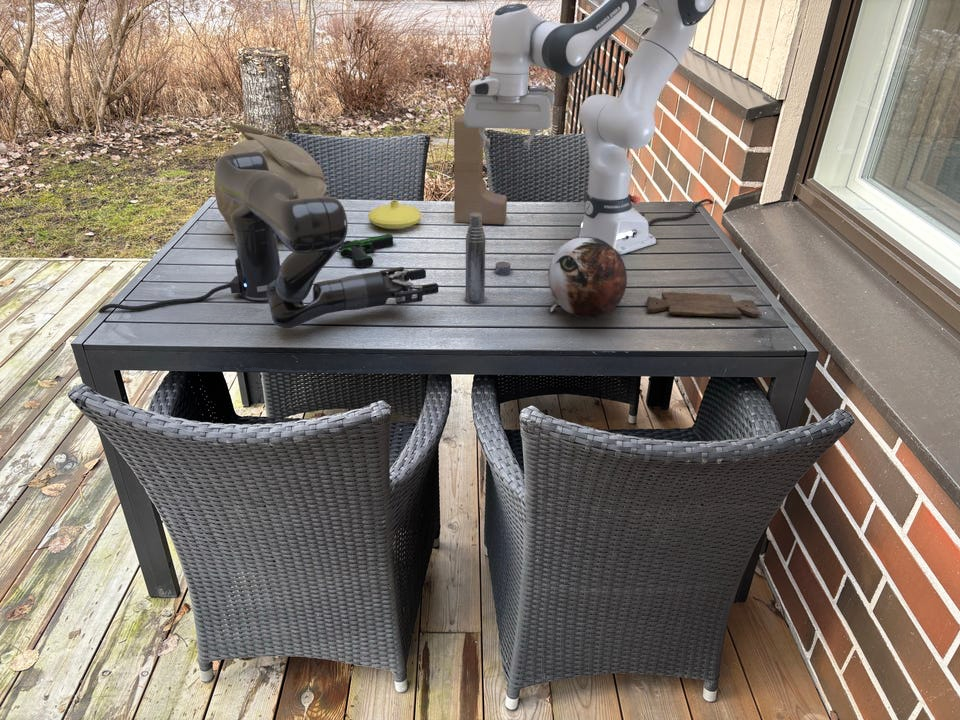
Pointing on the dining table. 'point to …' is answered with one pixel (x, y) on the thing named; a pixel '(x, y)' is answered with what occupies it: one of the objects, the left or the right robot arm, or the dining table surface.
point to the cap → (502, 268)
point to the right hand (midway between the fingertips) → (506, 147)
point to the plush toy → (587, 277)
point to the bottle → (475, 260)
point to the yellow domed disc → (394, 216)
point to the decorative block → (473, 178)
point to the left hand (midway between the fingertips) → (431, 280)
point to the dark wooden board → (702, 305)
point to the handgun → (364, 249)
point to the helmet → (275, 166)
